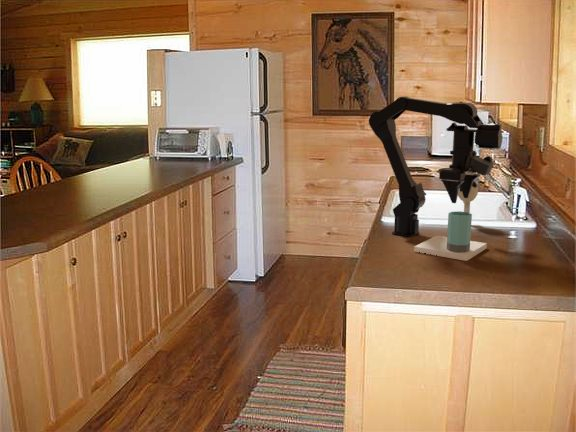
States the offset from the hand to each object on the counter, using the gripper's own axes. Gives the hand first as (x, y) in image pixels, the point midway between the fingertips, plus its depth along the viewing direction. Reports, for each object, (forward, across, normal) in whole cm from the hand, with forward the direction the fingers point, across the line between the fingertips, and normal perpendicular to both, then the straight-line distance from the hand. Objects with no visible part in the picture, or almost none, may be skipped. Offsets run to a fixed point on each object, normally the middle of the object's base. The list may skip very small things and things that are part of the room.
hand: (460, 200), depth 180 cm
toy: (+12, +22, +6) cm, 26 cm away
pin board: (+12, -12, -2) cm, 17 cm away
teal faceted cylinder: (+10, -15, -6) cm, 19 cm away
